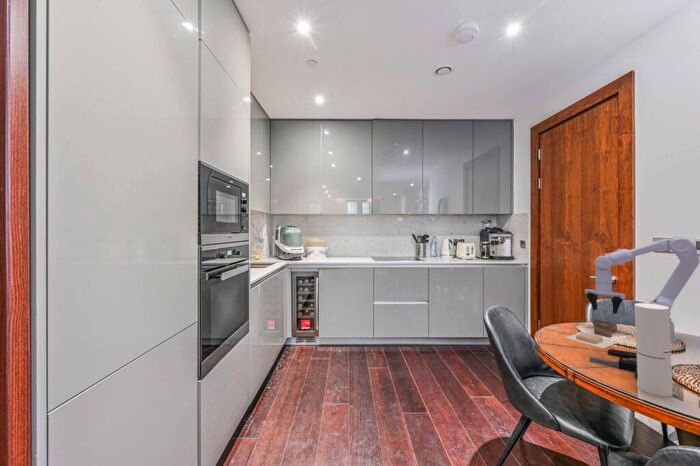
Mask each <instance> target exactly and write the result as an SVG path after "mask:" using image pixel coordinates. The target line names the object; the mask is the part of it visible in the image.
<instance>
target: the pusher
mask: <svg viewBox="0 0 700 466" xmlns="http://www.w3.org/2000/svg"><path fill="white" fill-rule="evenodd" d="M591 324H592V325H593V328H594V334H598V335H602V336H606V337H610V338H611V337H612V334H613V333H616V332H617V333H618V324H617V322H613V321H608V320H607V321H606V320H604V319H603V320H602V319H598V318H593V321H592V323H591Z"/></svg>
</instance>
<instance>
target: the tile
mask: <svg viewBox="0 0 700 466" xmlns="http://www.w3.org/2000/svg"><path fill="white" fill-rule="evenodd" d="M576 339H578V340H582V341H586V342H590V343H593V344H597V343H599V342H602V341H603V337H598V336H594V335H590V334H586V333H582V334H579V335H576Z"/></svg>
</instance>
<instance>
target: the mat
mask: <svg viewBox="0 0 700 466" xmlns="http://www.w3.org/2000/svg"><path fill="white" fill-rule="evenodd" d="M582 333H586V334H590V335H594V336H598V337H602V335H598V334H594V327H592V328H590V329H586V330H583V331H580V332H578V333H574V334H572V335H569V336H565V337H564V338H565V339H568V340H571V341H574V342H579V343H582V344H586V345H589V346H590V345H591V346H593V347H597V348H601V349H605V348H607V347H610V346H612V345H615V344H616V343H615V342H612V341H611V338H610V337H606V336H603V337H606V338H607V339H603V341H602V342H599V343H597V344H593V343H590V342H586V341H582V340H578V339H576V335H579V334H582ZM615 336H617V337H619V336H626V337H628V338H627V339H630V338H632V337H633V335H628V334H626V333H620V332H618V331H617V332H616V333H613V334H612V337H615Z"/></svg>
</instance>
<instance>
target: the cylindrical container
mask: <svg viewBox="0 0 700 466" xmlns="http://www.w3.org/2000/svg"><path fill="white" fill-rule="evenodd" d="M649 303H650V302H647V303H645V302H638V303H634V324H635V327H634V328H635V345H636V346H635V348H636V353H637V361H636V362H637V374H638V378H637V388H638V389H639V390H641V391H643V392H645V393H647V394H650V395H653V396H658V397H662V398H663V397H664V398H669V397H673V395H674V394H673V375H672V373H673V372H672V371H673V368H672V352H671V351H672V347H671V346H672V345H671V343H670V321H669V318H670V317H669V307H667V306H663V305H657V304H649Z"/></svg>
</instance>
